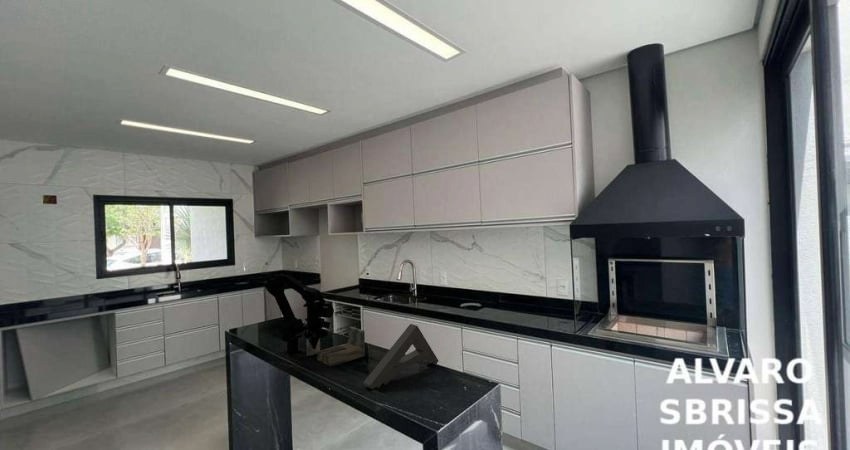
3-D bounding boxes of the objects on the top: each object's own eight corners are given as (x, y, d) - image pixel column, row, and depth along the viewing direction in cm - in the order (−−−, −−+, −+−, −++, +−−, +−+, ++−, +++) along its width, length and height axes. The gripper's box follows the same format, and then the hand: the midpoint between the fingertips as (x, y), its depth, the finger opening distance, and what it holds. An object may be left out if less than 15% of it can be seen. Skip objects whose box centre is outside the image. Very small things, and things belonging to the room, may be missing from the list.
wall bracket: (390, 418, 138) (431, 358, 156) (397, 422, 135) (438, 360, 153) (362, 382, 129) (410, 323, 147) (369, 386, 126) (417, 325, 144)
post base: (317, 359, 159) (317, 333, 159) (350, 350, 172) (350, 326, 172) (330, 366, 151) (330, 339, 151) (364, 356, 163) (364, 330, 164)
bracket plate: (306, 355, 165) (306, 338, 165) (318, 352, 169) (318, 335, 169) (308, 356, 163) (308, 339, 164) (320, 352, 168) (320, 336, 168)
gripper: (337, 316, 166) (338, 348, 165) (319, 310, 179) (319, 340, 179) (316, 320, 158) (316, 354, 158) (298, 314, 171) (298, 345, 171)
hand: (313, 348), depth 166 cm, fingers closed on bracket plate, 2 cm apart
